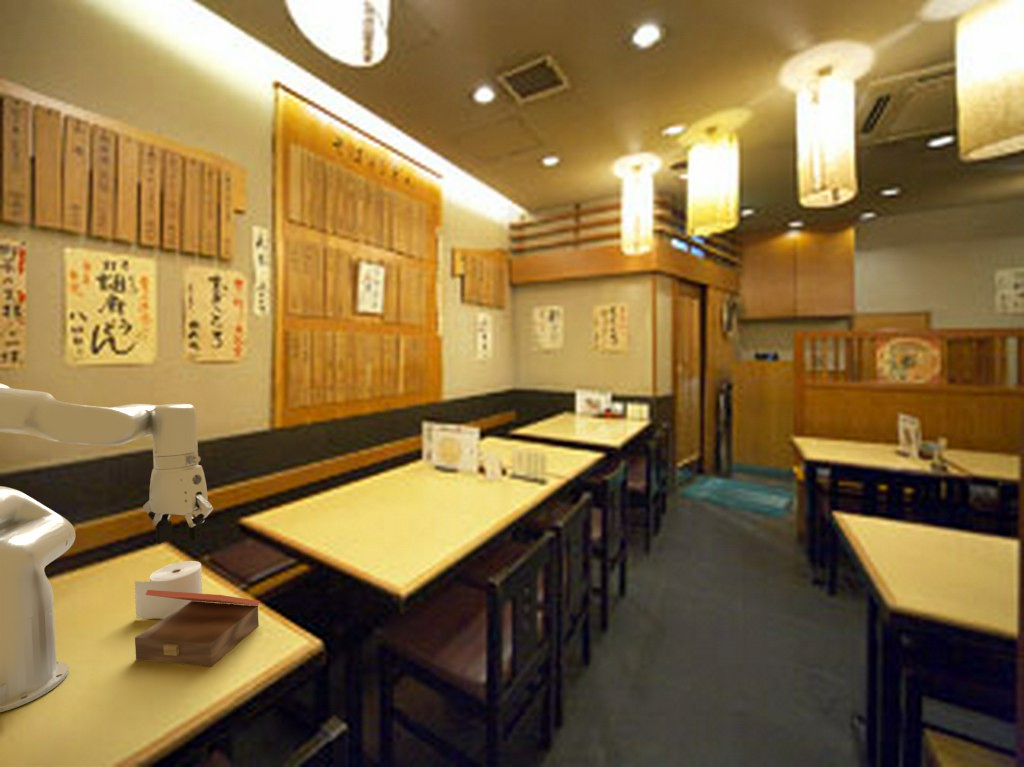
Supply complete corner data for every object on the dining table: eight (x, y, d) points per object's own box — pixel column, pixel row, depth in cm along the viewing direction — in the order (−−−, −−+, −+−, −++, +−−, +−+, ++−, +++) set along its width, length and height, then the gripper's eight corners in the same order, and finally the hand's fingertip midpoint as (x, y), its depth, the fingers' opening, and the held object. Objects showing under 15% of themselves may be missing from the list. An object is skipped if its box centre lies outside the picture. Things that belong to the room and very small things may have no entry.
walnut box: (208, 668, 88) (208, 645, 87) (133, 661, 90) (132, 639, 89) (258, 625, 102) (258, 605, 102) (192, 620, 104) (191, 600, 104)
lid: (219, 600, 90) (221, 595, 91) (145, 594, 92) (147, 589, 93) (258, 605, 102) (259, 601, 102) (191, 600, 104) (193, 596, 104)
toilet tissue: (212, 599, 114) (211, 563, 113) (165, 626, 102) (164, 586, 101) (182, 593, 116) (181, 558, 116) (134, 618, 105) (132, 580, 104)
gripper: (226, 458, 92) (229, 536, 93) (157, 456, 94) (160, 533, 95) (197, 466, 85) (200, 551, 86) (122, 464, 87) (126, 547, 88)
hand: (179, 541), depth 91 cm, fingers open, 6 cm apart
